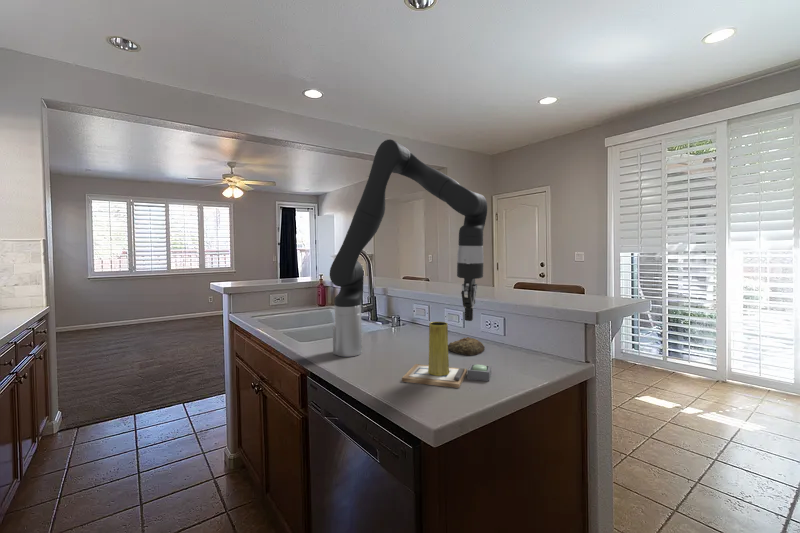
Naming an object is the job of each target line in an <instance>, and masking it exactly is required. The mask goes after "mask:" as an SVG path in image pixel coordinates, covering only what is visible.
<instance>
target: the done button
mask: <svg viewBox="0 0 800 533" xmlns="http://www.w3.org/2000/svg"><path fill="white" fill-rule="evenodd" d="M484 365H485V364H477V365H473V370H478V371H487V367H486V366H484Z"/></svg>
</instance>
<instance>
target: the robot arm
mask: <svg viewBox="0 0 800 533" xmlns="http://www.w3.org/2000/svg"><path fill="white" fill-rule="evenodd" d="M371 164H372V165H371V168H370V173H369V175H368V178H367V181H366V185H365V186H364V190H363V192H362V195H361V197H360V200H359V202H358V204H357V207H356V210H355V211H354V214H353V216H352V220H351V222H350V225H349V228H348V230H347V232H346V235H345V237H344V240H343V242H342V244H341V246H340V247H339V250H338V252H337V253H336V256H335V258H334V260H333V262H332V264H331V266H330V269H329V278H330V281H331V283H332V284H333V285H334V286H336V287H340V290H339V292H338V293H337V295H336V296H335V297H334V326H333V327H332V355H336V356H339V357H354V356H355V357H356V356H359V355H361V354H363V352H362V350H363V349H362V348H363V346H362V339H363V338H362V298H363V296H364V277H365V276H364V269H363V266H362V263H361V262H359V257H360V255H361V253H362V251H363V250H364V248H365V247H366V246H367V245H368V243H370V241H371V240H372V239H373V237H374V236H375V235H376V233H377V232H378V230H379V228H380V226H381V223H382V221H383V218H384V215H385V211H386V190H387V186H388V183H389V179H390V177H391V176H392V175H391V174H392V173H393V174H398V175H401V176H403V177H406V178H409V179H411V180H412V181H415V183H418V185H419V186H420V187H422V188H423V189H424V190H425V191H427V192H428V193H430V194H431V195H433V196H434V197H436V198H438V199H439V200H440V201H442V202H444V203H446V204H447V205H448V206H449V207H450V208H451V209H453V210H454V211H455V212H457V213H458V214H460V215H462V216H464V220H463V225H461V226H460V227H459V230H458V246H457V247H458V248H457V256H456V257H457V258H456V259H457V260H456V277H457V278H460V279H463V283H462V284H461V293H460V294H461V299H462V306H463V308H464V321H467V322H472V321H473V320H474V308H475V305H476V299H477V290H478V284H477V283H476V280H477V279H483V278H484V259H485V258H484V253H485V252H484V228H485V225H486V221H487V215H488V202H487V199H486V197H485V196H484V195H483V194H481V193H478V192H475V191H472V190H470V189H468V188H466V187H464V186H463V185H461V184H460V183H459V182H458V181H457V180H456V179H454V178H452V177H450V176H449V175H447V174H445V173H443V172H442V171H440V170H437V169H436V168H434V167H431V166H430V165H427V164H426V163H425V162H423V161H421V159H419V158H418V157H417V156H416V155H415V154H413V153H412V152H411V151H410V150H409V149H408V148H407V147H406V146H405V145H403V144H401V143H399V142H397V141H396V140H394V139H391V138H390V139H386V140H384V141H383V142H381V143H380V144H379V146H378V148H377V149H376V153H375V154H374V158H373V161H372V163H371Z"/></svg>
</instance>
